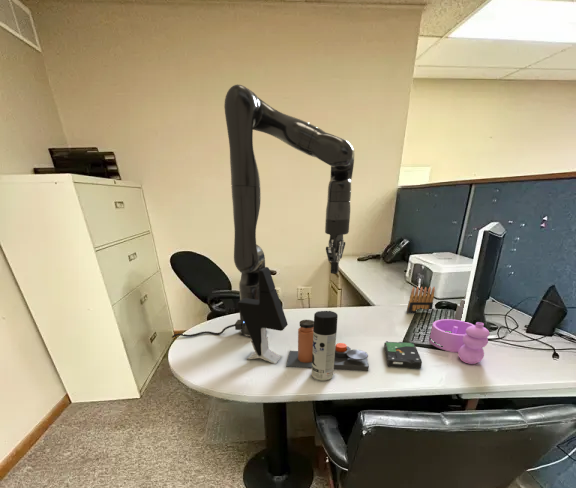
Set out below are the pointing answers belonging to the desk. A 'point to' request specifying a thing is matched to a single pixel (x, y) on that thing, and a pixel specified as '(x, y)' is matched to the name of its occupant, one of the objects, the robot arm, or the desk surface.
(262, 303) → the award
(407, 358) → the disk drive
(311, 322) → the orange bottle
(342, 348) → the power button
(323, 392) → the desk surface
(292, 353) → the plate
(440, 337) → the container set
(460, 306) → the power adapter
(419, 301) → the ammunition clip
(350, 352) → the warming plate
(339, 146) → the robot arm
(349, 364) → the grey base plate
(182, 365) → the desk surface
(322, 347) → the spray can
